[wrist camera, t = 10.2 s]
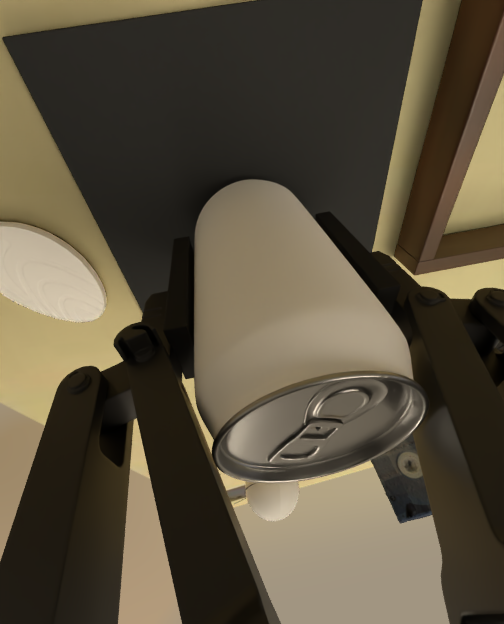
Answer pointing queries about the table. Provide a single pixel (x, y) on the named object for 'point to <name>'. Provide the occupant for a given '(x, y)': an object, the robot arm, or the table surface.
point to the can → (291, 344)
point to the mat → (222, 113)
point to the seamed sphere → (272, 499)
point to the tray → (456, 146)
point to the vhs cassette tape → (403, 481)
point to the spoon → (48, 275)
